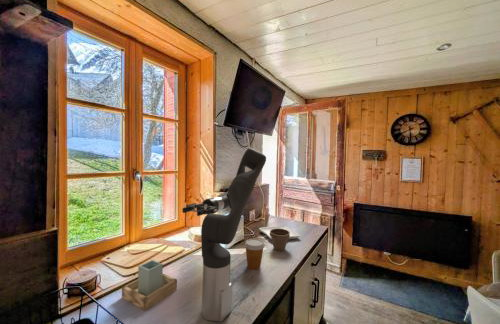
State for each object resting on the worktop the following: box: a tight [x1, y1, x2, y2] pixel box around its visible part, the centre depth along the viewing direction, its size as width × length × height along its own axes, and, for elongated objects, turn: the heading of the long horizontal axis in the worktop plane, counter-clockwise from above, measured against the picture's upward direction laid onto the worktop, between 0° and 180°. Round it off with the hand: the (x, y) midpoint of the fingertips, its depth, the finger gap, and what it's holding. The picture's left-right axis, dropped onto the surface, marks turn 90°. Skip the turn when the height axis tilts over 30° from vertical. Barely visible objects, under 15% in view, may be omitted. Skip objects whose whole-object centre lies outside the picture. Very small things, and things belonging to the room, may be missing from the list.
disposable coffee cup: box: [244, 238, 265, 271], centre depth 107 cm, size 10×10×12 cm
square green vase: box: [137, 259, 164, 296], centre depth 84 cm, size 6×6×10 cm
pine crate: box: [121, 273, 178, 311], centre depth 84 cm, size 13×14×4 cm
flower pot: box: [270, 229, 290, 252], centre depth 128 cm, size 12×11×10 cm
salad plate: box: [258, 225, 301, 241], centre depth 150 cm, size 21×21×3 cm
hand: (190, 212), depth 97 cm, fingers open, 8 cm apart
